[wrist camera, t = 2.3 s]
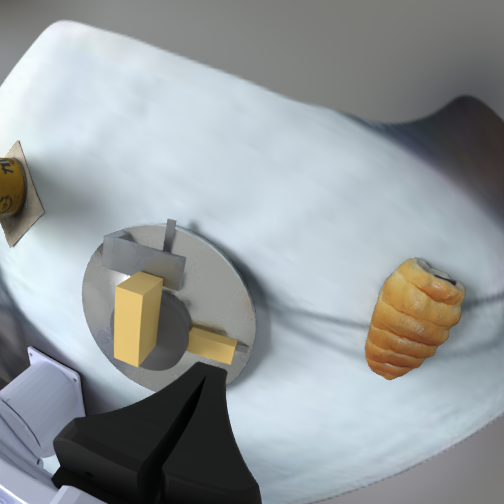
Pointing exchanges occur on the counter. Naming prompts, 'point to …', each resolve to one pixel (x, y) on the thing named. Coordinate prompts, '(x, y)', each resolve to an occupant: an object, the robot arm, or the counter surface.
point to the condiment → (17, 196)
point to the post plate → (177, 284)
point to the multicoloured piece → (159, 327)
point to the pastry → (411, 318)
